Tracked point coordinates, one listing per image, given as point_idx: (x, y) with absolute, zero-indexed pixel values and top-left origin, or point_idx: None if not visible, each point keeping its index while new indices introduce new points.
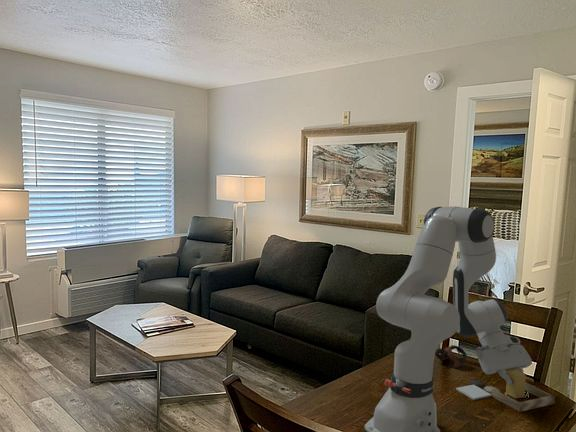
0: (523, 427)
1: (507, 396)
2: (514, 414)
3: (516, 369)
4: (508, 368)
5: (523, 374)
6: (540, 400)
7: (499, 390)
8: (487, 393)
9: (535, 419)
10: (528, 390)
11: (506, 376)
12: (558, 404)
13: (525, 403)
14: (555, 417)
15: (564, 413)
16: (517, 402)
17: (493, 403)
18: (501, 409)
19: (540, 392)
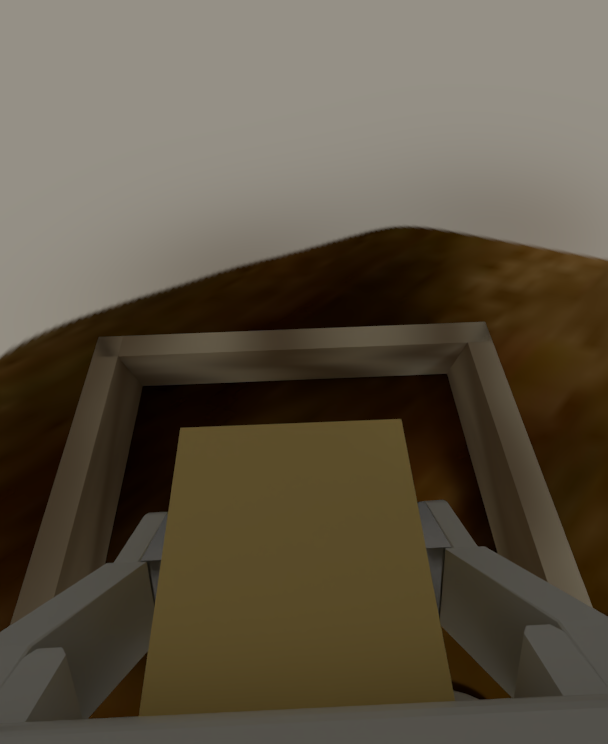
0: (545, 248)
1: (512, 444)
2: (516, 343)
3: (142, 698)
4: (457, 710)
5: (241, 427)
6: (264, 334)
7: None
8: None
9: (422, 279)
10: None
11: (519, 575)
12: None
13: (425, 325)
14: (291, 267)
15: (199, 281)
16: (487, 343)
17: (600, 506)
18: (576, 412)
19: (102, 447)
